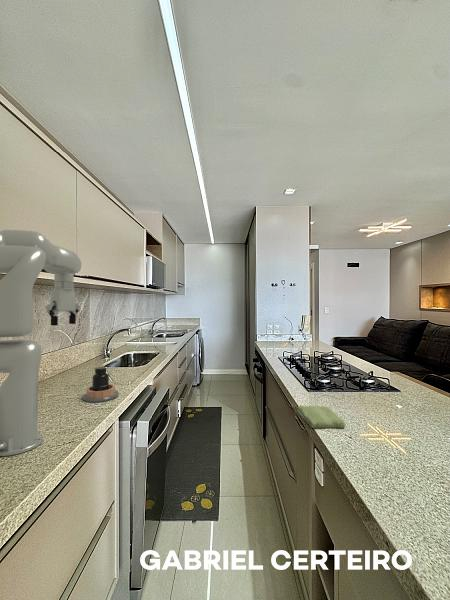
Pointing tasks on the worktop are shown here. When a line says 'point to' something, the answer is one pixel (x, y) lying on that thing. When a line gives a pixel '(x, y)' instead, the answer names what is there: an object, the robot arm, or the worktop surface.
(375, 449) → the worktop surface
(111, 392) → the bottle holder
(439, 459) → the worktop surface
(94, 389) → the supplement bottle
